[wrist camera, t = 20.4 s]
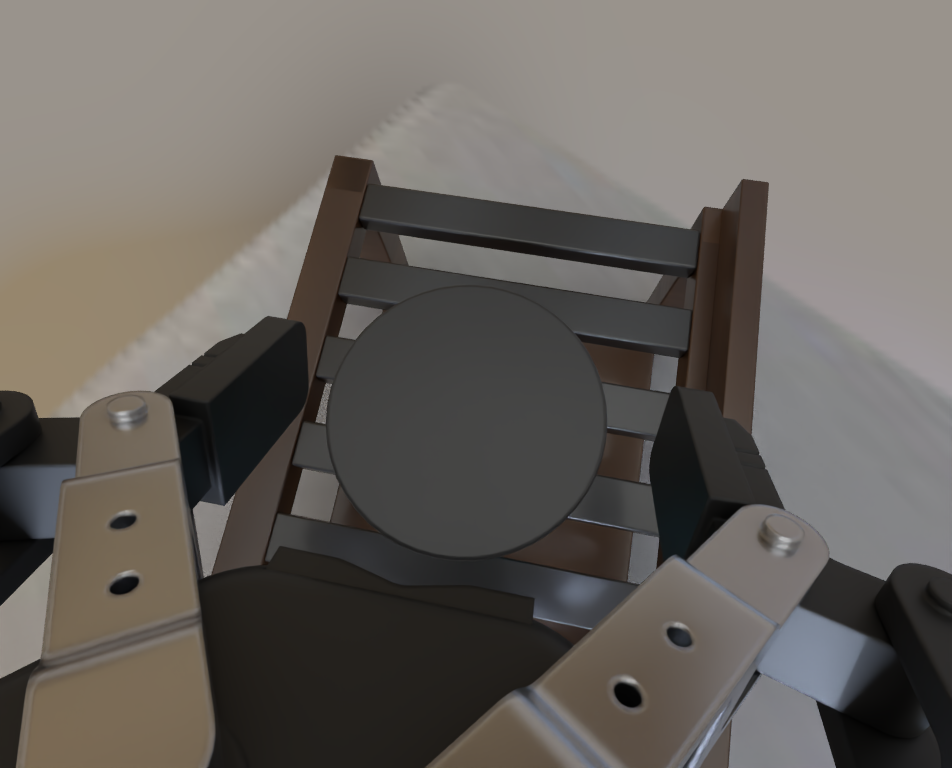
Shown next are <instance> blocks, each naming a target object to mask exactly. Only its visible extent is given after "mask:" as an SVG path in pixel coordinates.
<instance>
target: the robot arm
mask: <svg viewBox="0 0 952 768" xmlns="http://www.w3.org/2000/svg"><path fill="white" fill-rule="evenodd" d="M308 389H309V377H308V357H307V336H306V328H305V326H304V324H303V323H302V322H300V321H294V320H288V319H283V318H277V317H271V316H267V317H265V318H264V319H262V320H261V321H260V322H259V323H257V324H256V325H255V326H254V327H252V328H251V329H250V330H249V331H248V332H246V333H245V334H242V333H241V334H238V335H236V336H233V337H230V338H228V339H225V340H223V341H220V342H218V343H217V344H216V345H214V346H213V347H212V348H211V349H209V350H208V351H207V352H205V353H204V356H202V355H201V356H200V357H199V358H197V359H196V360H195V361H194V362H192V365H188V366H187V367H186V368H184V369H183V370H182V371H181V372H179V373H178V374H177V375H175V376H174V377H173V378H171V379H170V380H169V381H168V382H166V383H165V384H164V385H162V386H161V387H160V388H158V389H157V390H156V391H155V392H151V391H130V392H123V393H118V394H114V395H111V396H108V397H105V398H102V399H100V400H98V401H96V402H94V403H93V404H91V405H90V406H88V407H87V408H86V409H85V410H84V411H83V413H82V414H81V417H80V418H38V415H37V412H36V410H35V407H34V403H33V400H32V399H31V398H30V397H29V396H28V395H26V394H23V393H20V392H16V391H0V606H1V605H2V604H3V603H4V602H5V601H6V600H7V599H8V598H9V597H10V596H11V595H12V594H13V593H14V592H15V591H16V589H17V588H18V587H19V586H20V585H21V584H22V583H23V582H24V581H25V580H26V579H27V578H28V577H29V576H30V575H31V574H32V573H33V572H34V571H35V570H36V569H37V568H38V567H39V566H40V565H41V564H42V563H43V562H44V561H45V560H46V559H47V558H48V557H49V556H50V555H51V554H52V553H53V557H52V566H51V574H50V583H49V592H48V601H47V610H46V619H45V628H44V637H43V646H42V654H41V659H39V660H37V661H35V662H33V663H31V664H29V665H27V666H25V667H23V668H21V669H19V670H17V671H15V672H13V673H11V674H9V675H7V676H5V677H3V678H1V679H0V768H700V766H701V765H702V763H703V761H704V760H705V758H706V757H707V755H708V753H709V752H710V750H711V749H712V747H713V746H714V744H715V743H716V741H717V740H718V738H719V737H720V735H721V734H722V732H723V731H724V730H725V728H726V727H727V725H728V724H729V722H730V721H731V719H732V718H733V716H734V715H735V713H736V712H737V710H738V709H739V707H740V706H741V705H742V703H743V702H744V700H745V699H746V697H747V696H748V694H749V693H750V691H751V690H752V688H753V687H754V685H755V684H756V682H757V681H758V680H759V678H760V677H761V675H762V674H764V675H766V676H768V677H770V678H772V679H774V680H776V681H778V682H780V683H782V684H784V685H786V686H788V687H790V688H792V689H794V690H797V691H799V692H801V693H803V694H805V695H807V696H809V697H811V698H813V699H815V700H816V702H817V706H818V709H819V712H820V716H821V719H822V722H823V726H824V729H825V732H826V736H827V739H828V742H829V745H830V749H831V752H832V755H833V759H834V762H835V765H836V768H952V574H949V573H947V572H945V571H942V570H940V569H937V568H934V567H931V566H927V565H922V564H915V563H908V564H902V565H899V566H897V567H896V568H894V570H893V571H892V573H891V574H890V576H889V577H888V579H887V580H886V581H884V580H881V579H879V578H876V577H874V576H871V575H869V574H866V573H864V572H861V571H859V570H856V569H854V568H851V567H849V566H846V565H844V564H842V563H839V562H837V561H835V560H833V559H831V558H829V554H830V553H829V548H828V546H827V543H826V542H825V540H824V539H823V537H822V536H821V535H820V534H819V532H818V531H817V530H816V529H814V528H813V527H812V526H811V525H810V524H808V523H807V522H806V521H804V520H803V519H801V518H799V517H798V516H796V515H794V514H792V513H790V512H788V511H785V509H784V506H783V504H782V502H781V500H780V498H779V495H778V493H777V491H776V489H775V486H774V484H773V482H772V480H771V477H770V475H769V473H768V471H767V470H766V469H765V464H764V462H763V460H762V457H761V456H760V455H759V451H758V448H757V446H756V444H755V442H754V439H753V437H752V435H751V434H749V433H748V432H747V431H746V430H745V429H744V428H743V427H742V426H741V425H740V424H739V423H738V422H737V421H736V420H735V419H729V418H723V417H722V414H721V411H720V409H719V406H718V404H717V401H716V399H715V396H714V394H713V393H712V392H710V391H704V390H698V389H692V388H686V387H680V386H674V387H673V389H672V390H671V392H670V395H669V398H668V401H667V404H666V407H665V410H664V413H663V416H662V419H661V422H660V426H659V429H658V432H657V435H656V438H655V441H654V444H653V448H652V452H651V457H650V466H649V475H650V482H651V488H652V495H653V501H654V507H655V514H656V520H657V526H658V533H659V539H660V545H661V552H662V558H663V564H662V565H661V566H660V567H658V568H657V569H656V570H655V571H654V572H653V573H652V574H651V575H650V576H649V577H648V578H647V579H646V580H644V581H643V582H642V583H641V584H640V585H639V586H638V587H637V588H636V589H635V590H634V591H633V592H631V593H630V594H629V595H628V596H627V597H626V598H625V599H624V600H623V601H622V602H621V603H620V604H618V605H617V606H616V607H615V608H614V609H613V610H612V611H611V612H610V613H609V614H608V615H607V616H606V617H604V618H603V619H602V620H601V621H600V622H599V623H598V624H597V625H596V626H595V627H594V628H593V629H591V630H590V631H589V632H588V633H587V634H586V635H585V636H584V637H583V638H582V639H581V640H580V641H578V642H577V643H576V644H575V645H573V644H572V643H571V642H570V641H568V640H567V639H566V638H564V637H563V636H562V635H560V634H559V633H557V632H556V631H554V630H552V629H551V628H549V627H547V626H546V625H544V624H542V623H540V622H538V621H535V620H533V612H534V601H535V598H532V597H527V596H522V595H517V594H512V593H507V592H502V591H498V590H493V589H488V588H483V587H478V586H473V585H400V584H396V583H393V582H391V581H389V580H387V579H385V578H382V577H380V576H378V575H376V574H374V573H372V572H369V571H367V570H365V569H363V568H361V567H359V566H356V565H354V564H352V563H350V562H348V561H346V560H343V559H341V558H337V557H332V556H327V555H323V554H318V553H313V552H308V551H303V550H298V549H293V548H289V547H284V546H279V548H278V549H277V551H276V552H275V554H274V556H273V557H272V559H271V560H270V562H269V564H268V565H256V566H246V567H240V568H236V569H231V570H227V571H223V572H220V573H216V574H213V575H210V576H208V577H205V578H204V576H203V570H202V564H201V557H200V551H199V544H198V538H197V531H196V525H195V519H194V514H193V508H194V507H195V506H196V505H197V504H198V502H199V501H203V502H208V503H213V504H218V505H223V506H225V505H226V503H227V502H228V501H229V500H230V498H231V497H232V496H233V495H234V494H235V492H236V491H237V490H238V489H239V487H240V486H241V485H242V484H243V482H244V481H245V480H246V479H247V477H248V476H249V475H250V474H251V472H252V471H253V470H254V469H255V468H256V466H257V465H258V464H259V463H260V461H261V460H262V459H263V458H264V456H265V455H266V454H267V453H268V451H269V450H270V449H271V448H272V447H273V445H274V444H275V443H276V442H277V440H278V439H279V438H280V437H281V435H282V434H283V433H284V432H285V430H286V429H287V428H288V427H289V426H290V424H291V423H292V422H293V421H294V419H295V418H296V417H297V416H298V414H299V413H300V412H301V411H302V409H303V407H304V405H305V402H306V399H307V395H308Z"/></svg>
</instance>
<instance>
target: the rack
mask: <svg viewBox="0 0 952 768" xmlns="http://www.w3.org/2000/svg"><path fill="white" fill-rule="evenodd" d="M768 187H769V183H768V182H761V181H753V180H746V179H743V180H741V182H740V184H739V185H738V187H737V188H736V190H735V191H734V193H733V194H732V196H731V197H730V199H729V200H728V202H727V203H726V205H725V206H724V208H723V209H718V208H711V207H704V208H703V209H702V211H701V213H700V214H699V216H698V218H697V219H696V221H695V223H694V224H693V226H692V228H691V229H684V228H677V227H670V226H663V225H656V224H649V223H642V222H635V221H628V220H621V219H614V218H607V217H600V216H593V215H586V214H579V213H572V212H565V211H558V210H551V209H544V208H537V207H530V206H523V205H516V204H509V203H502V202H495V201H488V200H481V199H474V198H467V197H460V196H453V195H446V194H439V193H432V192H425V191H418V190H411V189H404V188H397V187H390V186H383V185H381V182H380V180H379V177H378V174H377V171H376V168H375V165H374V162H373V161H372V160H367V159H359V158H352V157H345V156H338V155H336V156H335V158H334V161H333V165H332V168H331V171H330V175H329V178H328V182H327V185H326V188H325V192H324V195H323V199H322V202H321V205H320V209H319V212H318V215H317V219H316V222H315V226H314V229H313V232H312V236H311V239H310V243H309V246H308V249H307V253H306V256H305V260H304V263H303V266H302V270H301V273H300V276H299V280H298V283H297V287H296V290H295V293H294V297H293V300H292V304H291V307H290V310H289V314H288V317H287V319H288V320H294V321H300V322H302V323H303V324H304V326H305V328H306V336H307V357H308V377H309V389H308V395H307V399H306V402H305V405H304V407H303V409H302V411H301V412H300V413H299V414H298V416H297V417H296V418H295V419H294V421H293V422H292V423H291V424H290V426H289V427H288V428H287V429H286V430H285V432H284V433H283V434H282V435H281V437H280V438H279V439H278V440H277V442H276V443H275V444H274V445H273V447H272V448H271V449H270V450H269V451H268V453H267V454H266V455H265V456H264V458H263V459H262V460H261V461H260V463H259V464H258V465H257V466H256V468H255V469H254V470H253V471H252V472H251V474H250V475H249V476H248V477H247V479H246V480H245V481H244V482H243V484H242V485H241V486H240V487H239V489H238V490H237V491H236V493H235V497H234V500H233V503H232V507H231V510H230V513H229V517H228V520H227V524H226V527H225V530H224V534H223V537H222V541H221V544H220V547H219V551H218V554H217V558H216V561H215V564H214V568H213V571H212V574H211V575H213V574H216V573H220V572H223V571H227V570H231V569H236V568H240V567H246V566H256V565H268V564H269V562H270V560H271V559H272V557H273V556H274V554H275V552H276V551H277V549H278V548H279V546H284V547H289V548H293V549H298V550H303V551H308V552H313V553H318V554H323V555H327V556H332V557H337V558H341V559H343V560H346V561H348V562H350V563H352V564H354V565H356V566H359V567H361V568H363V569H365V570H367V571H369V572H372V573H374V574H376V575H378V576H380V577H382V578H385V579H387V580H389V581H391V582H393V583H396V584H400V585H473V586H478V587H483V588H488V589H493V590H498V591H502V592H507V593H512V594H517V595H522V596H527V597H532V598H535V601H534V612H533V620H535V621H538V622H540V623H542V624H544V625H546V626H547V627H549V628H551V629H552V630H554V631H556V632H557V633H559V634H560V635H562V636H563V637H564V638H566V639H567V640H568V641H570V642H571V643H572V644H573V645H575V644H576V643H577V642H578V641H580V640H581V639H582V638H583V637H584V636H585V635H586V634H587V633H588V632H589V631H590V630H591V629H593V628H594V627H595V626H596V625H597V624H598V623H599V622H600V621H601V620H602V619H603V618H604V617H606V616H607V615H608V614H609V613H610V612H611V611H612V610H613V609H614V608H615V607H616V606H617V605H618V604H620V603H621V602H622V601H623V600H624V599H625V598H626V597H627V596H628V595H629V594H630V593H631V592H633V591H634V590H635V589H636V588H637V587H638V586H639V585H640V584H636V583H631V582H627V579H628V571H629V562H630V554H631V545H632V537H633V532H634V533H639V534H644V535H649V536H655V537H659V533H658V526H657V520H656V514H655V507H654V501H653V495H652V488H651V484H647V483H641V482H639V477H640V469H641V460H642V452H643V443H644V440H650V441H655V438H656V435H657V432H658V429H659V426H660V422H661V419H662V416H663V413H664V410H665V407H666V404H667V401H668V398H669V395H670V393H665V392H659V391H653V390H650V384H651V375H652V367H653V358H654V354H658V355H664V356H670V357H676V358H679V360H678V369H677V378H676V386H680V387H686V388H692V389H698V390H704V391H710V392H712V393H713V394H714V396H715V399H716V401H717V404H718V406H719V409H720V411H721V414H722V417H723V418H729V419H735V420H736V421H737V422H738V423H739V424H740V425H741V426H742V427H743V428H744V429H745V430H746V431H747V432H748V433H749V434H752V419H753V405H754V390H755V376H756V361H757V347H758V333H759V318H760V304H761V289H762V275H763V260H764V246H765V230H766V216H767V203H768ZM398 235H404V236H411V237H418V238H424V239H431V240H438V241H444V242H451V243H457V244H464V245H471V246H477V247H484V248H491V249H497V250H504V251H510V252H517V253H524V254H530V255H537V256H544V257H550V258H557V259H563V260H570V261H577V262H583V263H590V264H597V265H603V266H610V267H617V268H623V269H630V270H636V271H643V272H650V273H656V274H663V276H662V278H661V280H660V281H659V283H658V285H657V286H656V288H655V290H654V291H653V293H652V295H651V296H650V298H649V300H648V301H647V303H644V302H638V301H632V300H625V299H619V298H612V297H606V296H600V295H593V294H587V293H580V292H574V291H567V290H561V289H555V288H548V287H542V286H535V285H529V284H522V283H516V282H510V281H503V280H497V279H490V278H484V277H478V276H471V275H465V274H458V273H452V272H445V271H439V270H433V269H426V268H420V267H413V266H409V265H408V262H407V259H406V256H405V253H404V250H403V247H402V244H401V241H400V239H399V236H398ZM359 257H360V258H359ZM455 285H480V286H491V287H495V288H500V289H504V290H508V291H511V292H514V293H517V294H520V295H522V296H525V297H527V298H529V299H531V300H533V301H535V302H537V303H539V304H541V305H542V306H543V307H545V308H546V309H548V310H549V311H551V312H552V313H554V314H555V315H556V316H557V317H559V318H560V319H561V320H562V321H563V322H564V323H566V324H567V325H568V326H569V328H570V329H571V330H572V331H573V332H574V333H575V334H576V335H577V337H578V338H579V339H580V340H581V342H582V343H583V345H584V346H585V348H586V349H587V351H588V352H589V354H590V356H591V358H592V360H593V362H594V364H595V366H596V368H597V371H598V373H599V376H600V379H601V382H602V385H603V389H604V394H605V399H606V406H607V436H606V443H605V448H604V453H603V458H602V461H601V463H600V466H599V469H598V472H597V475H596V477H595V479H594V481H593V483H592V485H591V487H590V489H589V491H588V493H587V494H586V495H585V497H584V498H583V500H582V501H581V502H580V504H579V505H578V507H577V508H576V509H575V510H574V511H573V512H572V514H571V515H570V516H569V517H568V518H567V519H566V520H565V521H564V522H563V523H562V524H561V525H560V526H558V527H557V528H556V529H555V530H553V531H552V532H551V533H550V534H549V535H547V536H545V537H544V538H542V539H540V540H539V541H537V542H536V543H534V544H532V545H530V546H528V547H526V548H524V549H521V550H519V551H517V552H514V553H511V554H508V555H504V556H501V557H497V558H493V559H486V560H479V561H451V560H443V559H436V558H432V557H429V556H425V555H422V554H418V553H415V552H413V551H411V550H408V549H406V548H404V547H402V546H399V545H398V544H396V543H394V542H393V541H391V540H389V539H388V538H386V537H385V536H383V535H382V534H381V533H379V532H378V531H377V530H376V529H374V528H373V527H372V526H371V525H370V524H368V523H367V521H366V520H365V519H364V518H363V517H362V516H361V515H360V514H359V513H358V512H357V511H356V510H355V508H354V507H353V505H352V504H351V502H350V501H349V499H348V498H347V497H346V495H345V493H344V491H343V490H342V488H341V486H340V484H339V488H338V492H337V496H336V500H335V504H334V508H333V512H332V516H331V520H330V522H327V521H322V520H317V519H312V518H307V517H302V516H297V515H292V514H291V510H292V506H293V503H294V499H295V495H296V492H297V488H298V484H299V480H300V477H301V473H302V469H307V470H312V471H318V472H323V473H328V474H333V475H335V472H334V469H333V466H332V463H331V460H330V455H329V450H328V445H327V435H326V424H322V423H316V422H315V421H316V417H317V413H318V410H319V406H320V402H321V398H322V395H323V391H324V387H325V384H326V383H329V384H333V381H334V378H335V375H336V372H337V370H338V368H339V366H340V364H341V362H342V360H343V358H344V356H345V355H346V353H347V352H348V350H349V349H350V347H351V346H352V344H353V342H354V341H355V340H352V339H347V338H341V337H338V335H339V331H340V328H341V324H342V320H343V317H344V313H345V309H346V305H347V304H353V305H359V306H365V307H371V308H377V309H383V312H382V314H383V313H384V312H385V311H387V310H388V309H390V308H391V307H393V306H394V305H396V304H398V303H400V302H402V301H403V300H405V299H407V298H410V297H412V296H415V295H417V294H420V293H422V292H425V291H429V290H433V289H437V288H441V287H448V286H455ZM662 564H663V558H662V552H661V545H660V539H659V548H658V558H657V567H656V569H657V568H658V567H660V566H661V565H662ZM731 722H732V719H731V721H730V722H729V724H728V725H727V727H726V728H725V730H724V731H723V732H722V734H721V735H720V737H719V738H718V740H717V741H716V743H715V744H714V746H713V747H712V749H711V750H710V752H709V753H708V755H707V757H706V758H705V760H704V761H703V763H702V765H701V766H700V768H728V766H729V751H730V737H731Z"/></svg>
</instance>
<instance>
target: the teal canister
mask: <svg viewBox="0 0 952 768" xmlns="http://www.w3.org/2000/svg"><path fill="white" fill-rule="evenodd" d="M326 435H327V445H328V450H329V455H330V460H331V463H332V466H333V469H334V472H335V475H336V478H337V480H338V482H339V484H340V486H341V488H342V490H343V491H344V493H345V495H346V497H347V498H348V499H349V501H350V502H351V504H352V505H353V507H354V508H355V510H356V511H357V512H358V513H359V514H360V515H361V516H362V517H363V518H364V519H365V520H366V521H367V523H368V524H370V525H371V526H372V527H373V528H374V529H376V530H377V531H378V532H379V533H381V534H382V535H383V536H385V537H386V538H388V539H389V540H391V541H393V542H394V543H396V544H398V545H399V546H402V547H404V548H406V549H408V550H411V551H413V552H415V553H418V554H422V555H425V556H429V557H432V558H436V559H443V560H451V561H479V560H486V559H493V558H497V557H501V556H504V555H508V554H511V553H514V552H517V551H519V550H521V549H524V548H526V547H528V546H530V545H532V544H534V543H536V542H537V541H539V540H540V539H542V538H544V537H545V536H547V535H549V534H550V533H551V532H552V531H553V530H555V529H556V528H557V527H558V526H560V525H561V524H562V523H563V522H564V521H565V520H566V519H567V518H568V517H569V516H570V515H571V514H572V512H573V511H574V510H575V509H576V508H577V507H578V505H579V504H580V502H581V501H582V500H583V498H584V497H585V495H586V494H587V493H588V491H589V489H590V487H591V485H592V483H593V481H594V479H595V477H596V475H597V472H598V469H599V466H600V463H601V461H602V458H603V453H604V448H605V443H606V436H607V406H606V399H605V394H604V389H603V385H602V382H601V379H600V376H599V373H598V371H597V368H596V366H595V364H594V362H593V360H592V358H591V356H590V354H589V352H588V351H587V349H586V348H585V346H584V345H583V343H582V342H581V340H580V339H579V338H578V337H577V335H576V334H575V333H574V332H573V331H572V330H571V329H570V328H569V326H568V325H567V324H566V323H564V322H563V321H562V320H561V319H560V318H559V317H557V316H556V315H555V314H554V313H552V312H551V311H549V310H548V309H546V308H545V307H543V306H542V305H541V304H539V303H537V302H535V301H533V300H531V299H529V298H527V297H525V296H522V295H520V294H517V293H514V292H511V291H508V290H504V289H500V288H495V287H491V286H480V285H455V286H448V287H441V288H437V289H433V290H429V291H425V292H422V293H420V294H417V295H415V296H412V297H410V298H407V299H405V300H403V301H402V302H400V303H398V304H396V305H394V306H393V307H391V308H390V309H388V310H387V311H385V312H384V313H383V314H381V315H380V316H379V317H377V318H376V319H375V320H374V321H373V322H372V323H371V324H370V325H369V326H368V327H366V328H365V329H364V331H363V332H362V333H361V334H360V335H359V336H358V338H357V339H356V340H355V341H354V342H353V344H352V346H351V347H350V349H349V350H348V352H347V353H346V355H345V356H344V358H343V360H342V362H341V364H340V366H339V368H338V370H337V372H336V375H335V378H334V381H333V384H332V387H331V390H330V395H329V400H328V405H327V415H326Z"/></svg>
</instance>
